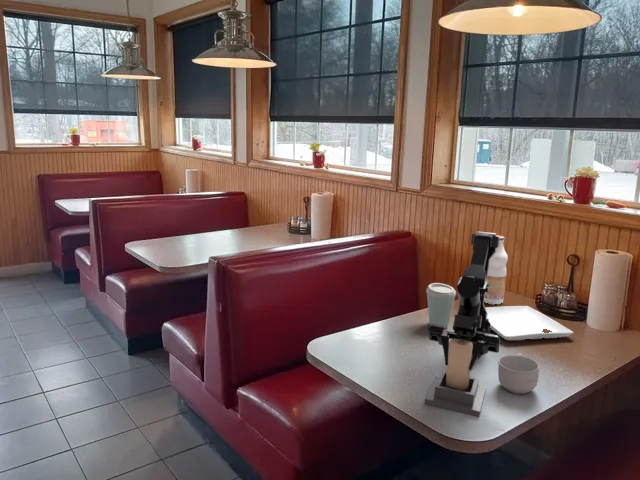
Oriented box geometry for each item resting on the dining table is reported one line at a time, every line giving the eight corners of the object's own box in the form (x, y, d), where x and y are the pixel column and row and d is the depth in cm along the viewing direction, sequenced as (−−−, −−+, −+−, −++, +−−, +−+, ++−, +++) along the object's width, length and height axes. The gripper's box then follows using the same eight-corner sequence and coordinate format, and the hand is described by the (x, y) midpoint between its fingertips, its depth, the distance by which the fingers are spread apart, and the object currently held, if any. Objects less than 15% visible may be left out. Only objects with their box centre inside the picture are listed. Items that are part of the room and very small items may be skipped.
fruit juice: (495, 306, 215) (502, 240, 208) (475, 300, 222) (481, 235, 215) (507, 302, 220) (515, 237, 214) (488, 296, 227) (494, 233, 221)
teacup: (532, 402, 141) (535, 375, 139) (491, 390, 146) (494, 364, 145) (541, 381, 152) (544, 356, 151) (503, 371, 158) (506, 346, 156)
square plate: (505, 346, 177) (506, 335, 176) (464, 317, 203) (465, 307, 202) (573, 341, 183) (575, 330, 182) (526, 313, 209) (527, 304, 208)
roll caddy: (434, 380, 151) (436, 366, 150) (485, 391, 145) (487, 377, 144) (424, 403, 138) (425, 388, 137) (479, 416, 133) (481, 400, 132)
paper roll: (456, 380, 145) (460, 336, 142) (473, 390, 140) (477, 344, 137) (440, 385, 142) (444, 340, 139) (456, 395, 137) (461, 349, 134)
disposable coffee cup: (458, 325, 193) (462, 286, 189) (444, 333, 185) (447, 293, 182) (432, 318, 200) (436, 280, 196) (418, 325, 192) (421, 286, 188)
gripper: (431, 296, 143) (419, 349, 136) (503, 307, 136) (495, 363, 128) (435, 314, 152) (424, 364, 144) (502, 325, 145) (494, 379, 137)
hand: (458, 367), depth 138 cm, fingers closed on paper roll, 6 cm apart
